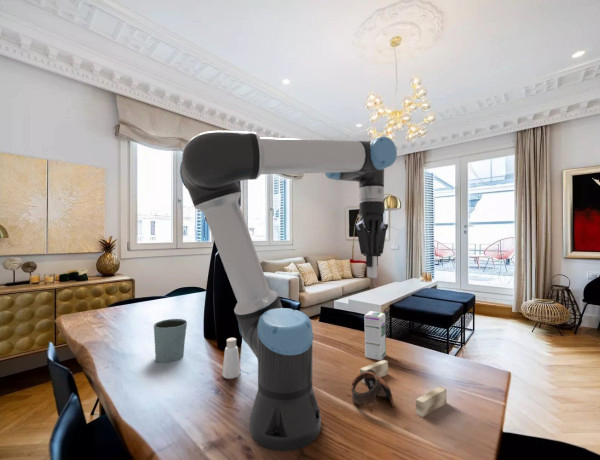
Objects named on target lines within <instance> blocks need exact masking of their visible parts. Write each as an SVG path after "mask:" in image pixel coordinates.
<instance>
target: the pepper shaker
mask: <svg viewBox="0 0 600 460" xmlns="http://www.w3.org/2000/svg"><path fill="white" fill-rule="evenodd" d="M221 375H222V376H221V377H223V378H225V379H235V378H238V377H240V375H241V364H240V355H239V347H238V346H237V338H235V337H229V338H227V339H226V347H225V348H224V355H223V363H222V372H221Z"/></svg>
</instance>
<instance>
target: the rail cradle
mask: <svg viewBox="0 0 600 460" xmlns="http://www.w3.org/2000/svg"><path fill="white" fill-rule="evenodd" d="M370 369H372V370H373V371H374V372H375V374H376V375H377V376H378V377H380V378H382V377H384V376H387V375H389V361H388V360H385V359H382V360H381V361H380V360H378V361H377V362H373V363H371V364H369V365H366V366H363V367H360V369H359V374H361V373H364V372H367V370H370ZM360 383H362V384H366V383H365V381H364V379H363V380H361V381H360ZM415 404H416V405H415V406H416V407H415V409H416V410H415V413H416V415H418V416H419V417H421V418H424V417H425V416H427V415H429V414H430V413H432V412H434V411H436V410H437V409H440V408H441V407H442V406H445V405H446V404H447V388H445V387H443V386H442V385H439V386H438V387H437V388H434V389H432V390H430V391H429V392H427V393H425V394H424V395H421V396H420V397H418V398H416V399H415Z"/></svg>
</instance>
